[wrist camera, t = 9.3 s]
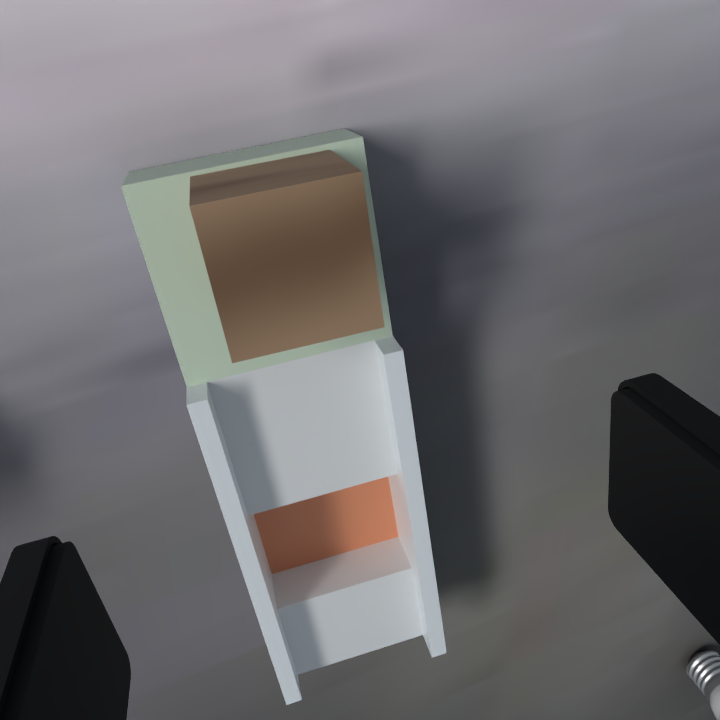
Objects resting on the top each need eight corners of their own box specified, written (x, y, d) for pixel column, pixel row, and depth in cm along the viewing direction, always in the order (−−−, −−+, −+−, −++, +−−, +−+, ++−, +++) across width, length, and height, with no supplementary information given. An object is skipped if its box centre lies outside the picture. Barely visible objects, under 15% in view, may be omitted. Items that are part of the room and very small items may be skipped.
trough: (419, 589, 37) (446, 652, 33) (276, 634, 36) (286, 704, 32) (345, 128, 26) (372, 141, 22) (128, 172, 24) (116, 194, 20)
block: (351, 280, 25) (384, 327, 21) (225, 308, 24) (232, 363, 20) (329, 149, 23) (362, 171, 18) (190, 176, 22) (189, 206, 18)
